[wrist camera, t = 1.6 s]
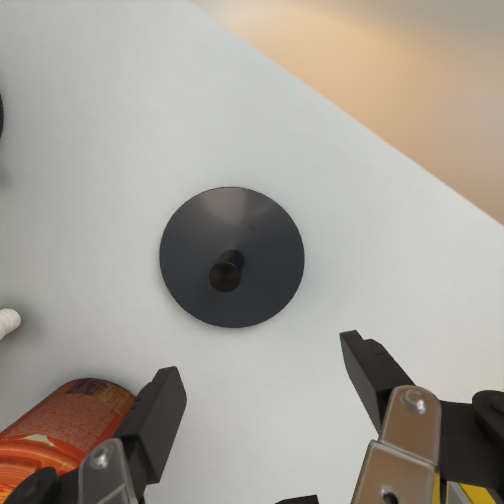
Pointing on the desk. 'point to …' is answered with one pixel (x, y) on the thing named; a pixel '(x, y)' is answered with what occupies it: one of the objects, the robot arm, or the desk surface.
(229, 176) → the desk surface
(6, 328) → the lightbulb
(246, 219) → the lid
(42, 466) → the food container
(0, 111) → the pot
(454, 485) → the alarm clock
